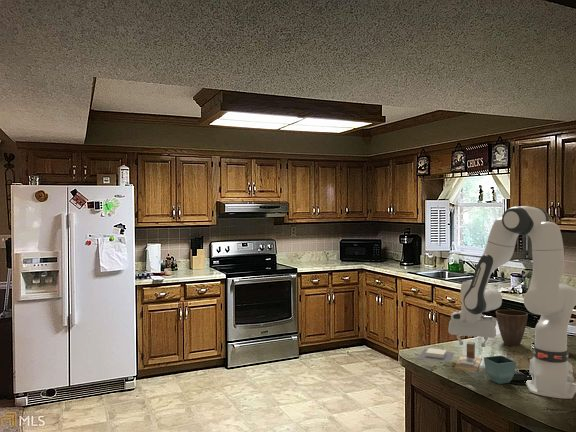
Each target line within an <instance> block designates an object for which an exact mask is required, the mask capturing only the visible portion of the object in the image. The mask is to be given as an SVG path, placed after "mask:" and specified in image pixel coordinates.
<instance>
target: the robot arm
mask: <svg viewBox="0 0 576 432" xmlns="http://www.w3.org/2000/svg"><path fill="white" fill-rule="evenodd" d="M501 216H502V217H498V218H496V219H495V220H494V222H493V224H492V226H491V228H490V231H489V235H488V237H487V241H486V245H485V247H484V251H483V253H482V256H481V257H480V259H479V260H478V262H477V265H476V268H475V270H474V272H473V273H474V274H473V277H472V279H470V280H469V279H467V280H463V281H462V283H461V285H460V301H461V306H460V310H458V311H454V312H452V313H451V314H450V320H449V323H448V334H450V335H451V336H452V335H453V336H454V335H456V338H457V340H458V342H459V343H458V344H459V346H463V345H464V340H462V339H461V336H463V337H464V336H466V337H478V338H479V337H480V338H483V340H484V341H482V342H481V343H480V344H481V347H482V348H485V347H486V343H487V341H488V340H489V339H490V338H491V339H493V338H496V336H497V329H496V326H497V318H495V317H493V316H488V315H487V316H486V315H483V313H487V312H491V311H495V310H497V309H498V310H499V308H501V306H502V304H503V297H502V295H501V293H500V291H499V290H497V289H495V288H492V287H489V286H488V283H489V281H490V278H491V275H492V273H493V272H495V271H496V270H497V269H498V268H499V267H501V266H503V265H505V264H507V263H508V262H509V261H510V260H511V259H512V257H513V256H514V252H515V248H516V244H517V240H518V237H519V236H520V235H521V236H526V235H527V236H528V237H529V238H530V241H531V253H532V254H531V255H532V274H531V279H530V280H531V281H530V282H529V287H528V289H527V291H526V292H525V293H524V295H523V296H524V297H523V305H524V306H525V308H526V310H527V311H528V312H529V313H531V314H534V315H540V318H539V320H538V321H537V323H536V325H535V327H534V346H533V357H532V358H530V359H529V371H528V375H531V377H532V380H527V381H526V383H525V385H526V387H527V389H528V391H529V392H530V393H532V394H536V395H538V396H543V397H549V398H556V399H564V400H565V399H573V398H574V397H575V395H576V383H574V382H575V377H574V376H573V375H574V370H573V365H572V363H570V362H569V349H568V329H569V328H568V327H569V325H570V324H569V323H570V320H571V317H572V314H573V313H572V312H573V311H574V308H575V306H576V290H575V288H574V287H572V286H570V285H567V284H563V283H560V282H561V278H562V275H563V274H564V272H565V270H566V263H565V253H564V252H565V249H564V241H563V237H562V236H563V234H562V232H561V229H560V226H559V225H558V224H557V223H556V222H552V221H550V216H549V214H548V212H547V211H546V210H545V209H543V208H540V207H537V206H529V205H521V206H513V207H509V208H508V209H506V210H505V211H504V212H503V214H502V215H501Z"/></svg>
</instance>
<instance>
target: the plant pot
mask: <svg viewBox="0 0 576 432" xmlns="http://www.w3.org/2000/svg"><path fill="white" fill-rule="evenodd" d="M528 315H529V314H528V312H526V311H522V310H515V309H498V310H496V311H495V316H496V323H497V326H498V330H499V333H500V336H501V339H502V342H503V344H505V345H506V346H507V345H508V346H512V347H513V346H517V347H518V346H520V345H521V343H522V340H523V337H524V335H525V331H526V328H527V327H526V326H527V322H528V317H529V316H528Z"/></svg>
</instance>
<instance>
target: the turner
mask: <svg viewBox="0 0 576 432" xmlns="http://www.w3.org/2000/svg"><path fill="white" fill-rule="evenodd" d="M475 349H476V342H475V341H467V342H466V355H467V357H464V359H463V360H462V362H461V366H466V367H473V366H474V364H475V362H476V358H475V357H476V352H475V351H476V350H475Z"/></svg>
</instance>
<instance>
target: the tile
mask: <svg viewBox="0 0 576 432" xmlns="http://www.w3.org/2000/svg"><path fill="white" fill-rule="evenodd" d="M427 349H428V350H427V351H426V357H432V358H440V359H444V358H445V356H446V355H447V352H448V351H447V349H441V348H440V349H439V348H432V347H429V348H427Z"/></svg>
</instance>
